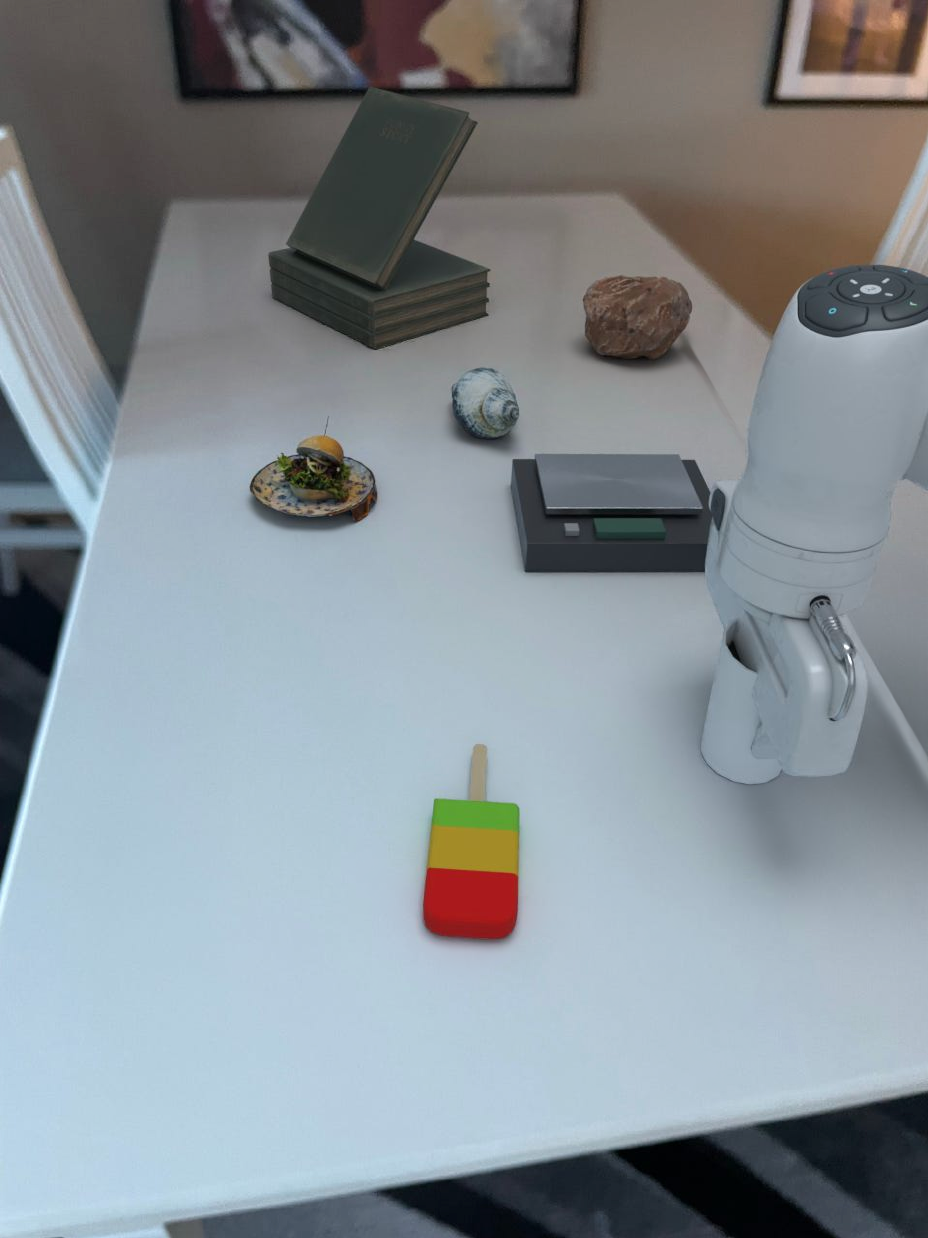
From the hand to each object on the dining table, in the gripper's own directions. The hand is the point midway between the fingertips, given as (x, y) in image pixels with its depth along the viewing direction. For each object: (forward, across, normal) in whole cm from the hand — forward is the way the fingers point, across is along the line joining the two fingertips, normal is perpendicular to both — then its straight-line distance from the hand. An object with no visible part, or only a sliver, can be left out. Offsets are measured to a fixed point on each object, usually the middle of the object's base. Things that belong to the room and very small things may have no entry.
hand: (750, 722), depth 68 cm
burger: (+3, +35, +32) cm, 48 cm away
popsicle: (+3, -7, +19) cm, 21 cm away
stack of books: (+3, +86, +27) cm, 90 cm away
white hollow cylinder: (+3, 0, 0) cm, 3 cm away
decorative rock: (+3, +71, -5) cm, 71 cm away
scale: (+3, +30, +4) cm, 30 cm away
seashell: (+3, +50, +15) cm, 52 cm away
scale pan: (0, +31, +4) cm, 32 cm away
